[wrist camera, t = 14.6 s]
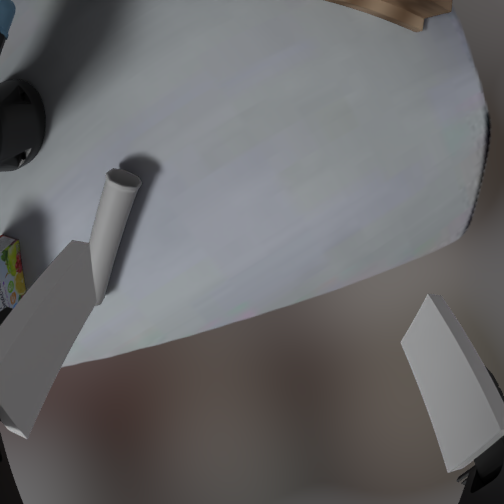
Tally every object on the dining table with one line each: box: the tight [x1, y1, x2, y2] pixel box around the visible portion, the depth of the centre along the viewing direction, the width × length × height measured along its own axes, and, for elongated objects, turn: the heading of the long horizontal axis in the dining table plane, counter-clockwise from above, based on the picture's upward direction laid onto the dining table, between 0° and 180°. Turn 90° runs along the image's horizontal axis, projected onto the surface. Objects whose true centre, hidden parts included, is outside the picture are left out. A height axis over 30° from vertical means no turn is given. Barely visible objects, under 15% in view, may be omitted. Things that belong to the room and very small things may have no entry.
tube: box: [89, 168, 142, 306], centre depth 46 cm, size 5×5×25 cm
